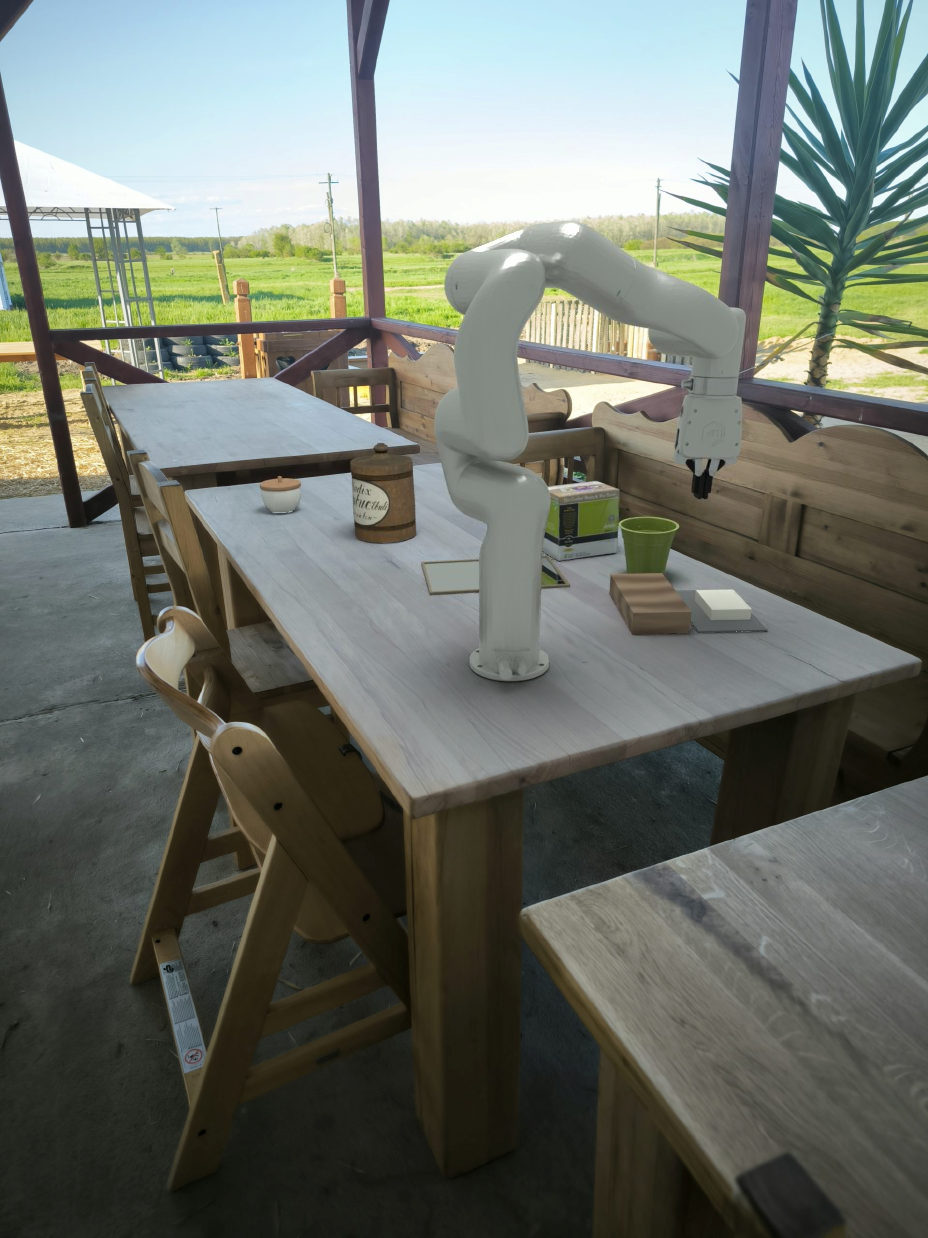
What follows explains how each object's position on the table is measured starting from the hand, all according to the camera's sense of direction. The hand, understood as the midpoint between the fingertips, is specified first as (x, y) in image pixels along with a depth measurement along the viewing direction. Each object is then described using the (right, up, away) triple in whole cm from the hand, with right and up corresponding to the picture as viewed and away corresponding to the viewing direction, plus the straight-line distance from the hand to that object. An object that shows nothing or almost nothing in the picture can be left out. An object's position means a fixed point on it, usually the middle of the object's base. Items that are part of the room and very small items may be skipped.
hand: (700, 497), depth 140 cm
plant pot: (-4, -13, +26) cm, 30 cm away
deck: (-7, -20, +9) cm, 23 cm away
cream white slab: (+6, -17, +8) cm, 20 cm away
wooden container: (-60, -1, +57) cm, 82 cm away
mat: (+5, -20, +9) cm, 22 cm away
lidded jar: (-89, +8, +78) cm, 119 cm away
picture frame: (-35, -13, +29) cm, 47 cm away
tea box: (-15, -6, +43) cm, 46 cm away
